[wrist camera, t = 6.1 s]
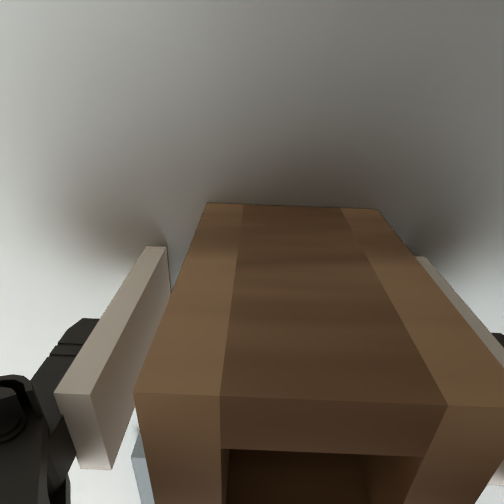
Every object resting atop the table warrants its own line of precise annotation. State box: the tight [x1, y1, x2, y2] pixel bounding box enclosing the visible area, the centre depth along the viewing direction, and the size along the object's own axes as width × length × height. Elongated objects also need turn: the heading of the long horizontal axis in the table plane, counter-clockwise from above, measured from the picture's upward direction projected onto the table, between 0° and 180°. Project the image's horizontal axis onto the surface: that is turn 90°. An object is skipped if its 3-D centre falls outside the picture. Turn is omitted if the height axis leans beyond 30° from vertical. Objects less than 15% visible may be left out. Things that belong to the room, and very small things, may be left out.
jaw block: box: [132, 203, 504, 504], centre depth 10 cm, size 6×6×8 cm
